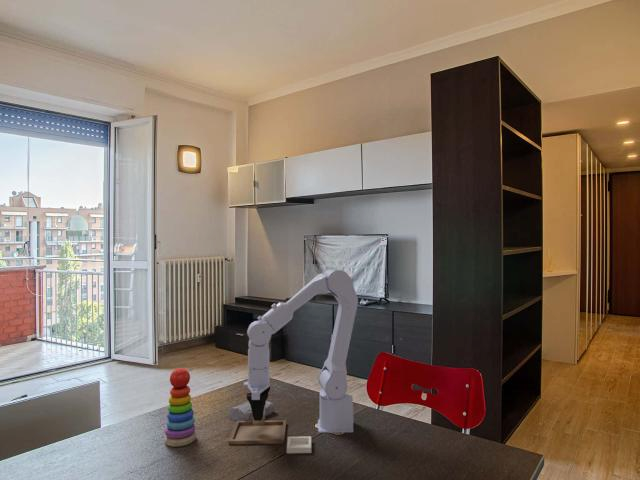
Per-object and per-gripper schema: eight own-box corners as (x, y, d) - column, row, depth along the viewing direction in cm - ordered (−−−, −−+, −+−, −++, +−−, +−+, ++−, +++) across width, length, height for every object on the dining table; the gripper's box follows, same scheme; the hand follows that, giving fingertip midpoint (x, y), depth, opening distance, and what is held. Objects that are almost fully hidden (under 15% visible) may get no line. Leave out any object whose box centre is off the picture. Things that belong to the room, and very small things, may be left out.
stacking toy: (202, 437, 114) (202, 366, 114) (181, 450, 107) (181, 375, 107) (179, 431, 117) (179, 363, 117) (157, 444, 110) (157, 371, 110)
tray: (286, 424, 122) (286, 420, 122) (283, 444, 110) (283, 440, 110) (236, 425, 122) (236, 420, 122) (228, 445, 110) (228, 440, 110)
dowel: (265, 420, 117) (265, 400, 117) (264, 425, 114) (264, 405, 114) (253, 420, 117) (253, 400, 117) (251, 425, 114) (251, 405, 114)
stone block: (225, 425, 126) (249, 426, 121) (223, 408, 127) (247, 408, 121) (254, 413, 136) (277, 414, 130) (252, 397, 137) (275, 397, 131)
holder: (311, 442, 111) (311, 436, 111) (311, 454, 105) (311, 447, 105) (287, 442, 111) (287, 436, 111) (286, 454, 105) (286, 447, 105)
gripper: (247, 359, 123) (247, 406, 123) (239, 375, 108) (239, 429, 108) (272, 358, 123) (272, 406, 123) (267, 374, 109) (267, 428, 109)
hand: (258, 417), depth 116 cm, fingers closed on dowel, 3 cm apart
